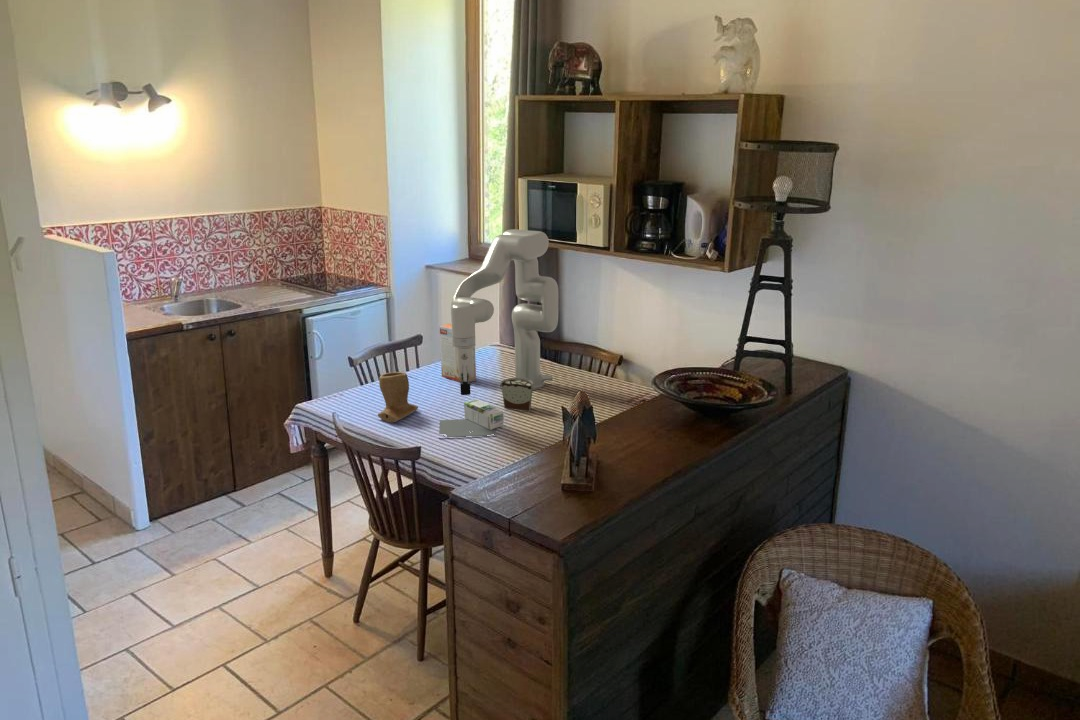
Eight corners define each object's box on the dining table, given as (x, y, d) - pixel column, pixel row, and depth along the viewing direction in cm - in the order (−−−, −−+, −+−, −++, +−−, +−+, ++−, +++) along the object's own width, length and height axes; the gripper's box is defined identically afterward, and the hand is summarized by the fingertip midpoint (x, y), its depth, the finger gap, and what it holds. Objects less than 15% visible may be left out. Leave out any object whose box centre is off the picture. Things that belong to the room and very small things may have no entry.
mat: (493, 419, 268) (493, 417, 268) (495, 436, 253) (495, 434, 253) (439, 421, 266) (439, 420, 266) (439, 439, 252) (439, 437, 251)
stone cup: (394, 406, 280) (391, 365, 276) (422, 410, 276) (420, 370, 271) (368, 420, 267) (365, 378, 263) (397, 425, 262) (395, 383, 258)
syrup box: (477, 398, 269) (503, 409, 259) (477, 414, 271) (504, 426, 260) (463, 402, 265) (490, 413, 255) (464, 419, 267) (490, 430, 257)
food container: (539, 406, 280) (539, 379, 277) (533, 412, 274) (533, 384, 271) (506, 402, 283) (506, 375, 280) (500, 408, 278) (499, 381, 275)
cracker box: (477, 380, 306) (475, 328, 300) (465, 384, 302) (463, 331, 296) (452, 373, 315) (450, 322, 309) (441, 376, 311) (438, 325, 305)
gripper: (476, 346, 250) (477, 401, 255) (474, 334, 264) (476, 386, 269) (452, 347, 249) (454, 402, 254) (452, 335, 263) (454, 387, 268)
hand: (465, 394), depth 262 cm, fingers closed
